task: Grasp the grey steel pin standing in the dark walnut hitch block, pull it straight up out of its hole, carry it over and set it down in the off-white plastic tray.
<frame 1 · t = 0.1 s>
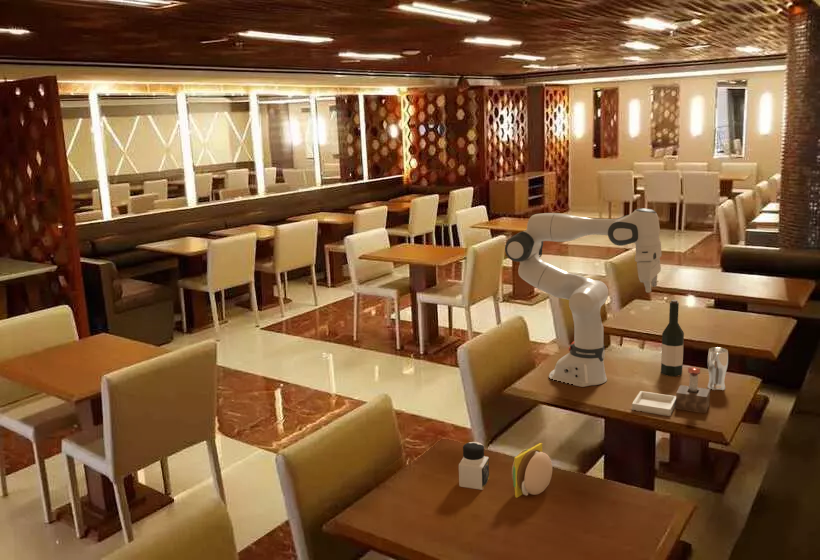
hand: (651, 289, 263), 39 cm above the table, tool pointing down, fingers open, 8 cm apart
tray: (654, 406, 254), on the table
pin: (693, 388, 251), in the hitch block
hitch block: (692, 406, 253), on the table
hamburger: (533, 491, 201), on the table
wine bottle: (671, 373, 286), on the table
medicine bottle: (474, 483, 207), on the table
beer glass: (716, 388, 269), on the table
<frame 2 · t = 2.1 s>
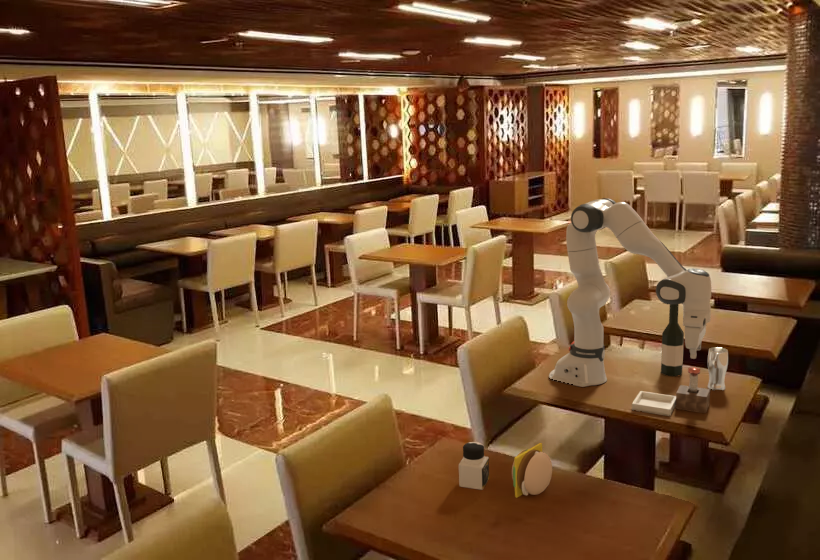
hand: (695, 354, 248), 20 cm above the table, tool pointing down, fingers open, 8 cm apart
nothing on the table moved.
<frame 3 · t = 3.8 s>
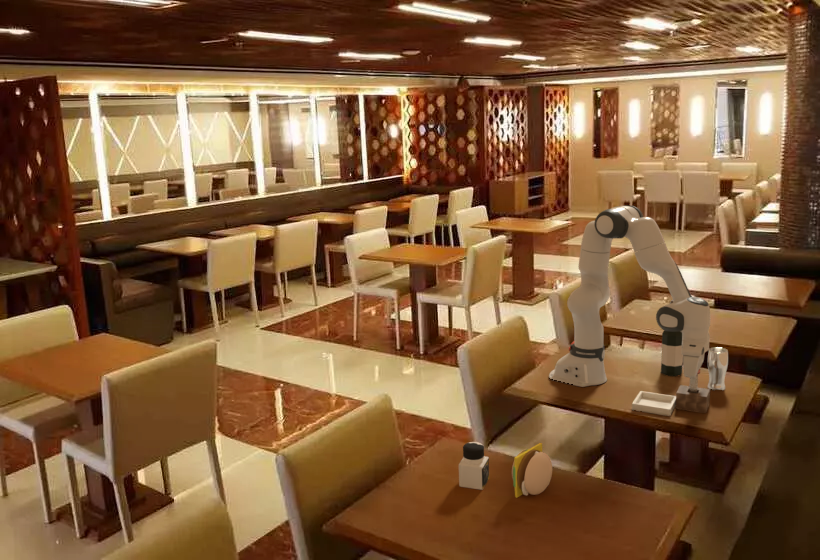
hand: (693, 381, 251), 10 cm above the table, tool pointing down, fingers closed on pin, 3 cm apart
pin: (693, 388, 251), in the hitch block, touching gripper
everything else where it was.
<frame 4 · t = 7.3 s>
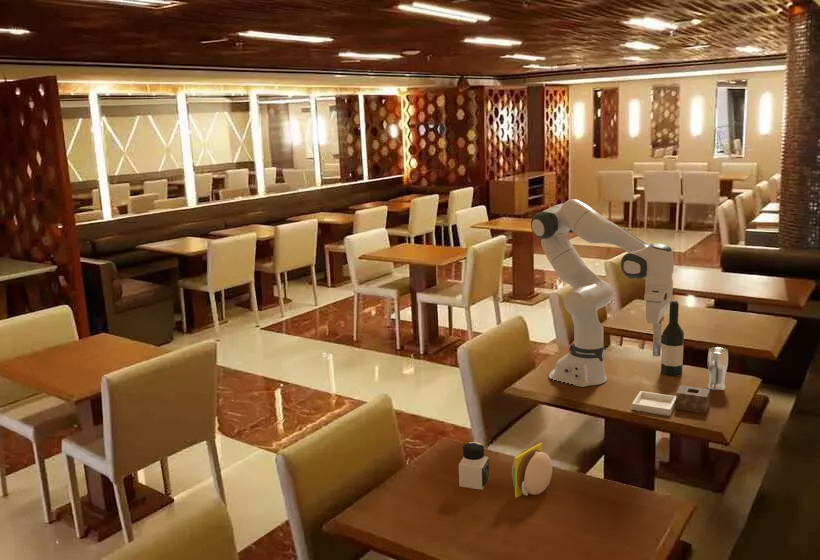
hand: (657, 329, 248), 29 cm above the table, tool pointing down, fingers closed on pin, 3 cm apart
pin: (657, 336, 249), point 26 cm above the table, touching gripper
everything else where it was.
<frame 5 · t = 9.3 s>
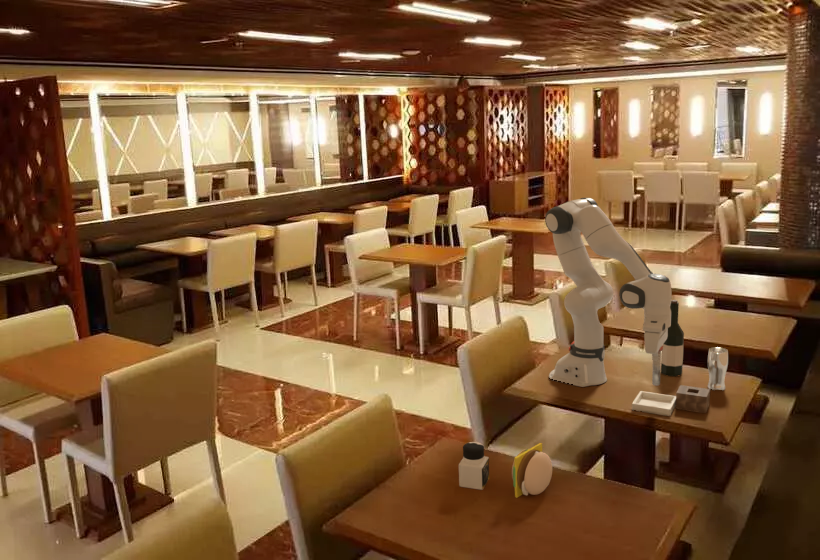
hand: (656, 358, 250), 18 cm above the table, tool pointing down, fingers closed on pin, 3 cm apart
pin: (656, 365, 251), point 16 cm above the table, touching gripper
everything else where it was.
when the fingers open (11 cm above the table, at t = 10.9 s): pin drops 1 cm, resting on tray.
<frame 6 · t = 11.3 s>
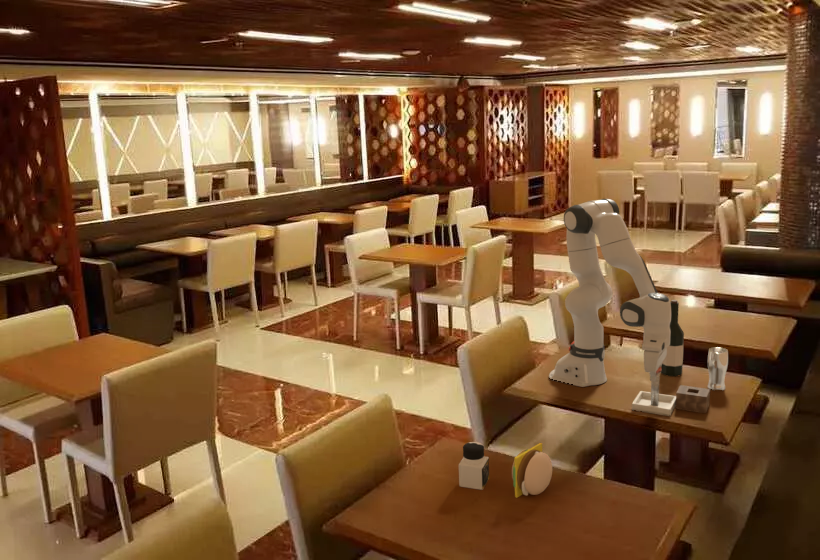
hand: (655, 376, 252), 11 cm above the table, tool pointing down, fingers open, 7 cm apart
pin: (655, 386, 253), in the tray, point 8 cm above the table
everything else where it was.
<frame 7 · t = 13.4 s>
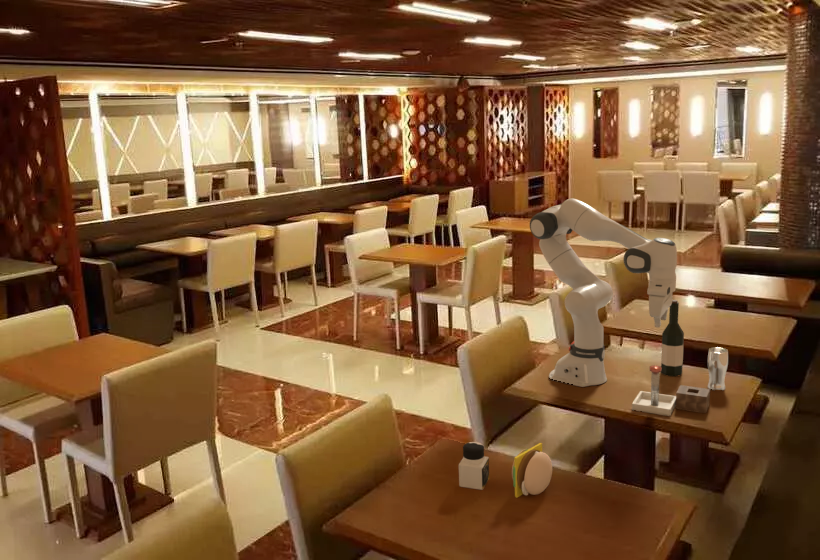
hand: (660, 323, 250), 30 cm above the table, tool pointing down, fingers open, 8 cm apart
nothing on the table moved.
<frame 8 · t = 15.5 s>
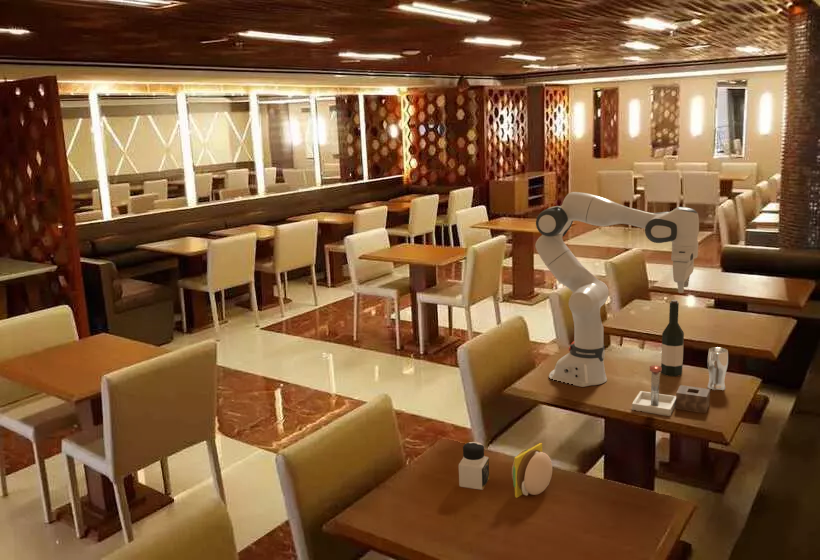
hand: (683, 289, 259), 39 cm above the table, tool pointing down, fingers open, 8 cm apart
nothing on the table moved.
at the end: pin inside the target area on the tray (0.0 cm from its centre), point 7.7 cm above the tray's base; pin touching tray; the gripper is holding nothing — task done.
